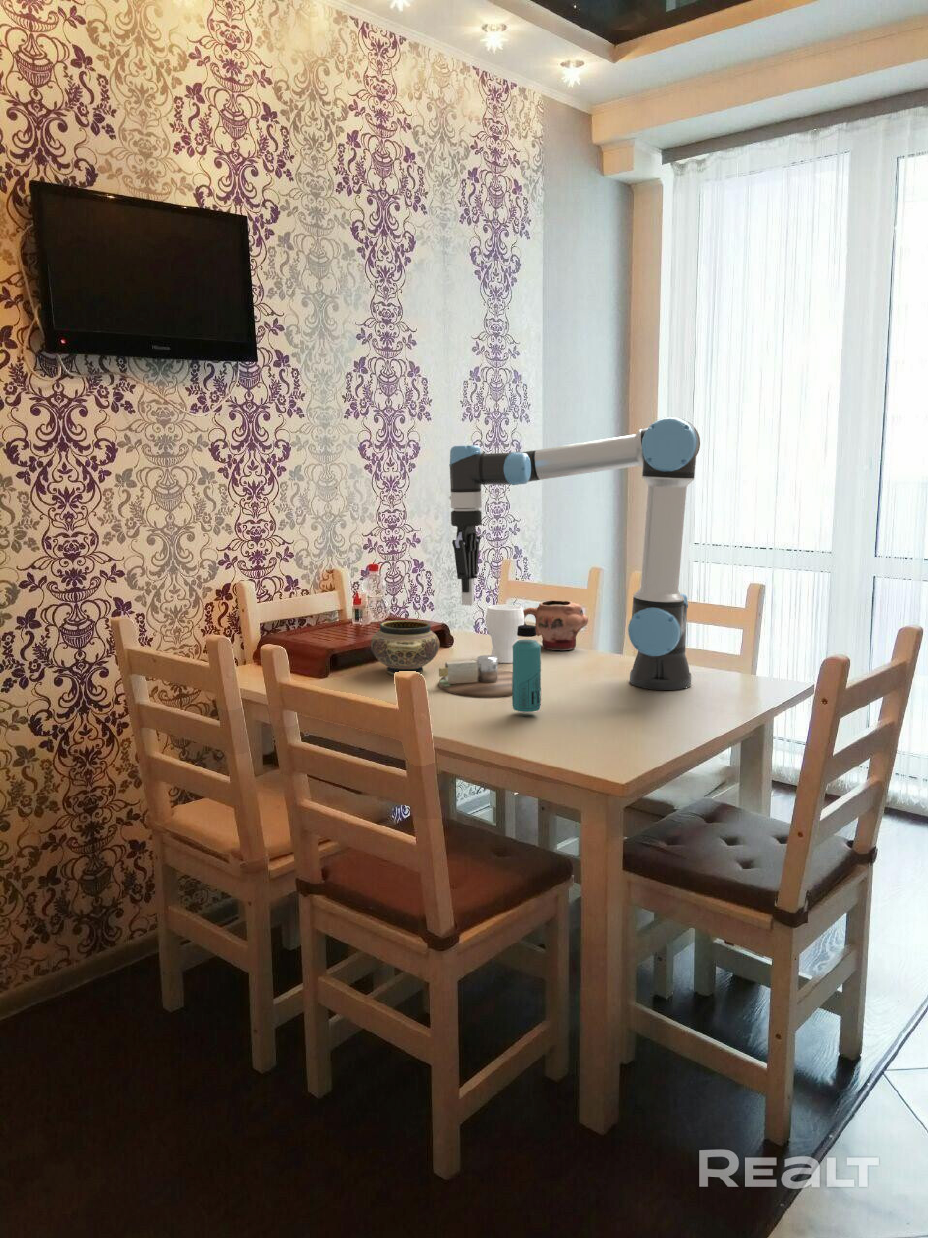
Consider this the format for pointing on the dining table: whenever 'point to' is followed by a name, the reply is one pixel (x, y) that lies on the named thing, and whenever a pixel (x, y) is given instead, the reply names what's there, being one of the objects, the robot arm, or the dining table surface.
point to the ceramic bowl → (405, 645)
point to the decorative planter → (558, 623)
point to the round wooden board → (482, 687)
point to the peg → (471, 670)
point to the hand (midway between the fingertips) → (467, 604)
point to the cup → (504, 629)
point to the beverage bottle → (526, 671)
